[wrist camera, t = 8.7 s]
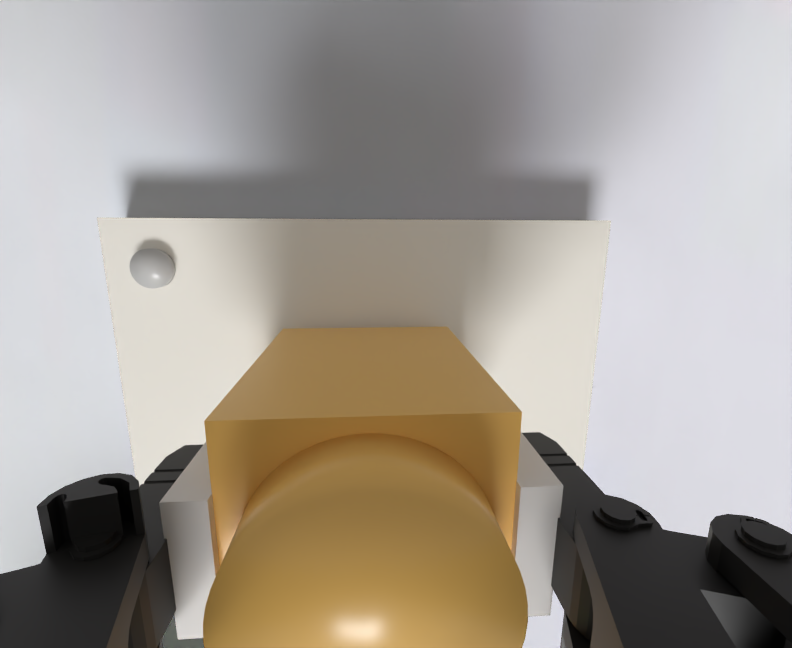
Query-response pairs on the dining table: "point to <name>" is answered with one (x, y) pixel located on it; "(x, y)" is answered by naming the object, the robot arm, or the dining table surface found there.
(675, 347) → the dining table surface
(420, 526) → the ball on cube
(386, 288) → the lid
